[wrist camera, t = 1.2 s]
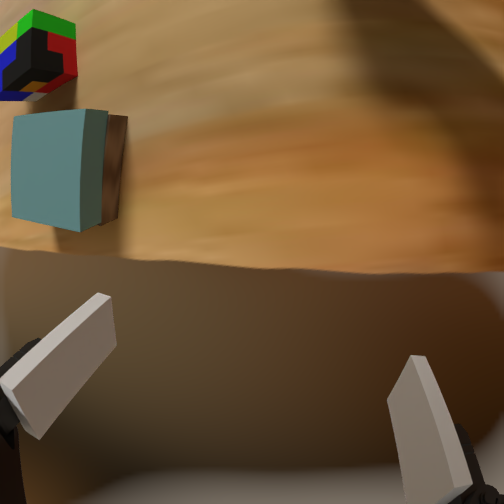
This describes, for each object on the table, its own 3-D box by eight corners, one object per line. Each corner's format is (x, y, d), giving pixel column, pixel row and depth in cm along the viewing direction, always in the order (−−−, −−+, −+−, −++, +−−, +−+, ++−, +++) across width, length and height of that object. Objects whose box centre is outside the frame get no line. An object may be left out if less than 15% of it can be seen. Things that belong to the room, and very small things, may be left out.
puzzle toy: (36, 101, 35) (-10, 101, 26) (34, 52, 32) (-8, 45, 23) (78, 75, 33) (30, 67, 24) (75, 23, 30) (33, 8, 21)
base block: (57, 115, 36) (37, 115, 32) (129, 116, 35) (110, 114, 31) (51, 203, 41) (32, 209, 37) (119, 217, 40) (101, 225, 36)
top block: (36, 116, 32) (13, 116, 28) (108, 111, 31) (85, 108, 26) (33, 209, 37) (12, 217, 33) (101, 222, 36) (80, 232, 31)
